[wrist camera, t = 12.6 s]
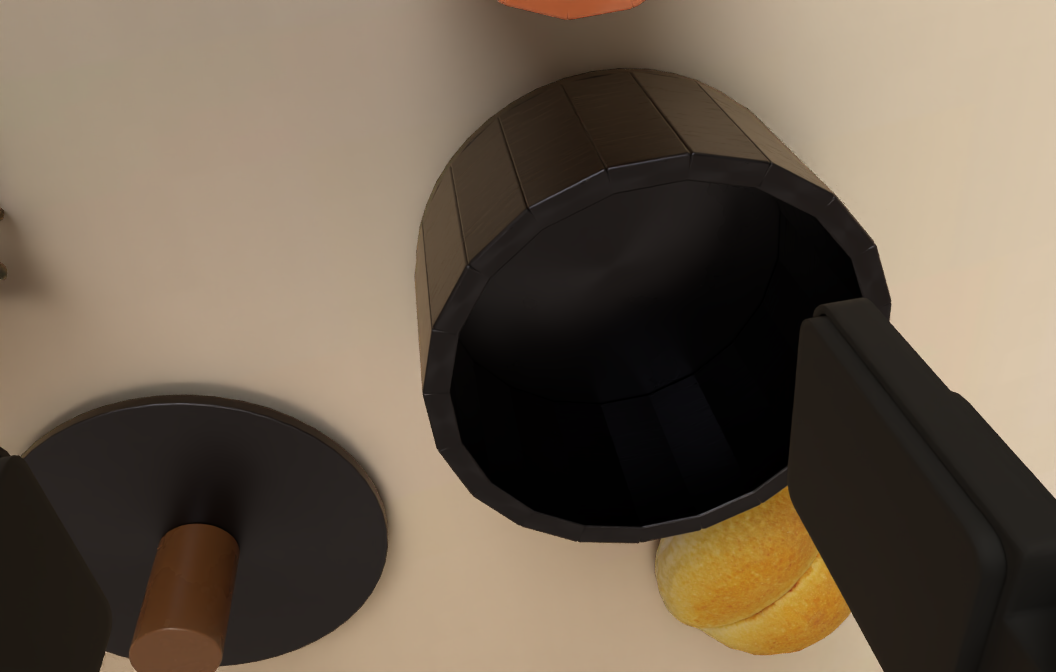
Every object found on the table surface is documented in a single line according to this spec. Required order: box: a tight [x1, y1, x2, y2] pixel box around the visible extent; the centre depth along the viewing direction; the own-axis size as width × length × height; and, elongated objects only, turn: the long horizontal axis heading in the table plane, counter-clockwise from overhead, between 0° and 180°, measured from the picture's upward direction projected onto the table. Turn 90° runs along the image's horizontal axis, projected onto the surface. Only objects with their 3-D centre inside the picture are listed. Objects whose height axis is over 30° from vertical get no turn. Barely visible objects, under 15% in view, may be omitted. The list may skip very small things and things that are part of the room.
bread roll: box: [655, 486, 851, 655], centre depth 35 cm, size 8×9×4 cm
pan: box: [415, 68, 891, 543], centre depth 26 cm, size 12×12×6 cm
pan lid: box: [21, 395, 388, 672], centre depth 30 cm, size 13×13×6 cm
